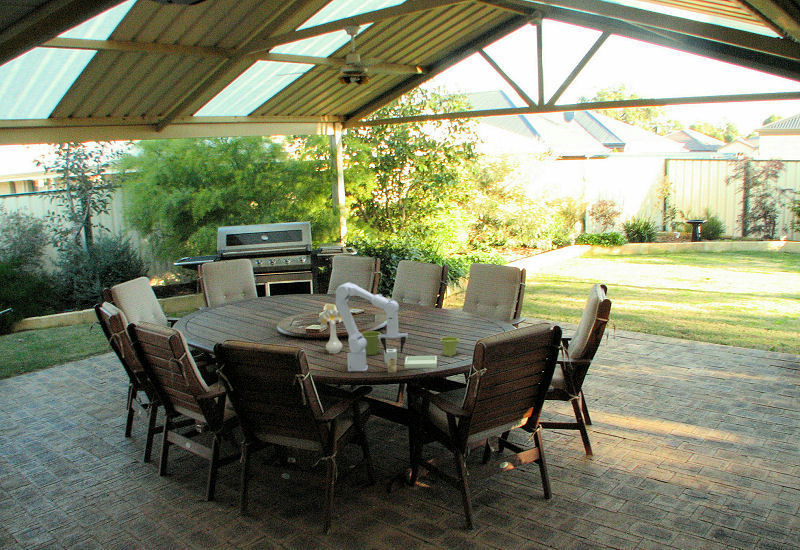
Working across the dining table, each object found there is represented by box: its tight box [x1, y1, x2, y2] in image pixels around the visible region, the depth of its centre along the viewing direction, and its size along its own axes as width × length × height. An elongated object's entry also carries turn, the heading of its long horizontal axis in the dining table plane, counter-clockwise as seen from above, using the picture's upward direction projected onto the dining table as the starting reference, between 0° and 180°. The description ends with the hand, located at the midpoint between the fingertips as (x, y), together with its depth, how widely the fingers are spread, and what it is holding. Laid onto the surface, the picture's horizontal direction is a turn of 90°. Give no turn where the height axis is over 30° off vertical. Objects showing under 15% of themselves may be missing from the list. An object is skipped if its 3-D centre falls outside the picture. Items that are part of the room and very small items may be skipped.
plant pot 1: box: [360, 331, 382, 356], centre depth 343 cm, size 12×12×11 cm
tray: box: [404, 355, 438, 370], centre depth 319 cm, size 16×14×2 cm
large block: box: [383, 348, 398, 364], centre depth 327 cm, size 6×6×6 cm
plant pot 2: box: [440, 336, 459, 357], centre depth 335 cm, size 9×9×9 cm
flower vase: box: [316, 307, 344, 355], centre depth 348 cm, size 13×18×25 cm
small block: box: [387, 358, 398, 374], centre depth 310 cm, size 4×4×6 cm
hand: (393, 352), depth 310 cm, fingers open, 7 cm apart
